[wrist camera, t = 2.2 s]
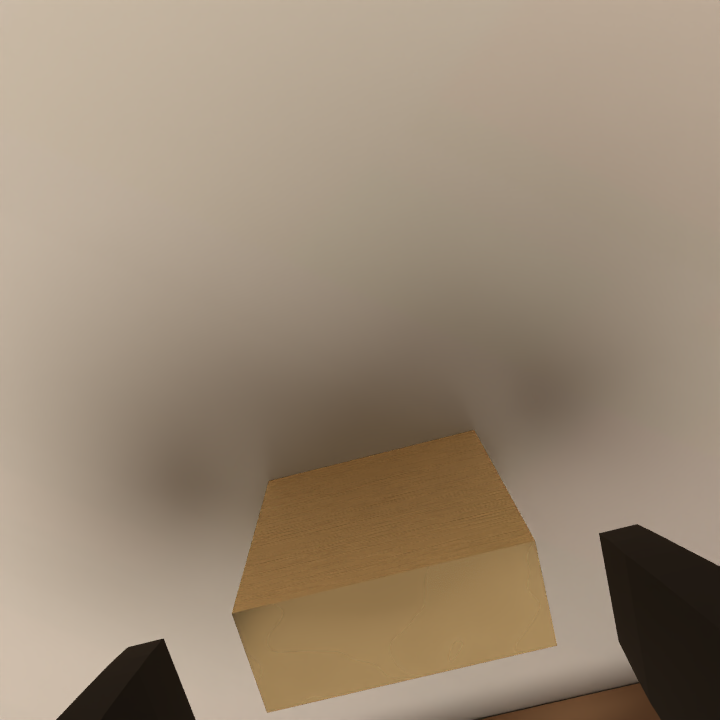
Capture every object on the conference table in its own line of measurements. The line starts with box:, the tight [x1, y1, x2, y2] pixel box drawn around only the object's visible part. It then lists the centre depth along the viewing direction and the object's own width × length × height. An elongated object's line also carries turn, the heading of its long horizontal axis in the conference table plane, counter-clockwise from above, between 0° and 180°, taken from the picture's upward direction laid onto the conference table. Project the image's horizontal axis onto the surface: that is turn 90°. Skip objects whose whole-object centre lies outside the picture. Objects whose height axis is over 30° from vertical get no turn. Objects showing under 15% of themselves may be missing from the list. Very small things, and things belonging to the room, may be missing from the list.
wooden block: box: [232, 430, 557, 713], centre depth 13 cm, size 5×2×5 cm, turn 104°
